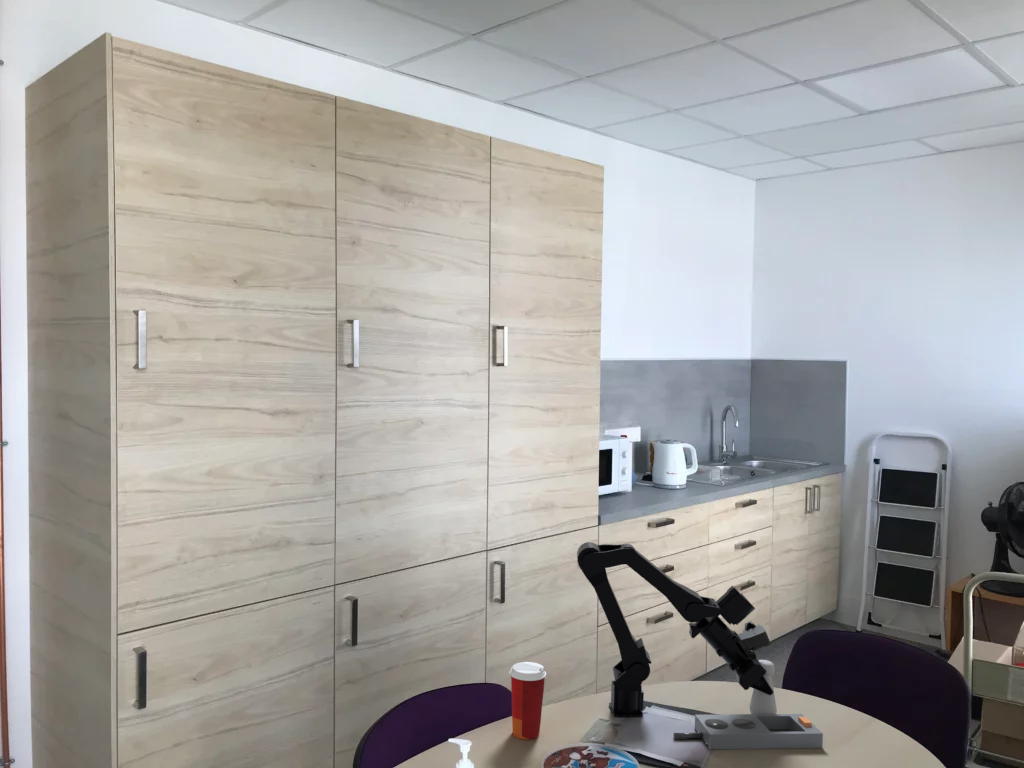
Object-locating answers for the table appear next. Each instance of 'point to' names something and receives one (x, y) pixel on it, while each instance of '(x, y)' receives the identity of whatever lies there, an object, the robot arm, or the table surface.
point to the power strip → (755, 731)
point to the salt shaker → (764, 694)
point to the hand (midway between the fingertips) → (769, 690)
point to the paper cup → (527, 699)
